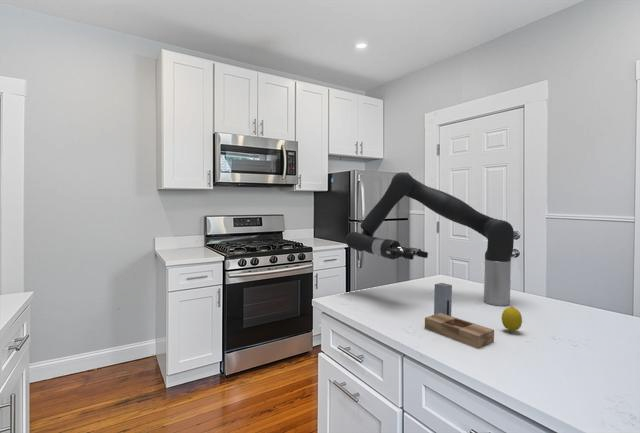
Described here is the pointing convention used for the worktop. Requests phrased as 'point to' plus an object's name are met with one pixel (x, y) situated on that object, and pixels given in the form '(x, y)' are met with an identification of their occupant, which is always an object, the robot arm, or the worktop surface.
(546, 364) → the worktop surface
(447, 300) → the block
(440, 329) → the wooden slotted base
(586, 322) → the worktop surface
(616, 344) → the worktop surface
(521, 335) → the worktop surface
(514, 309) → the lemon
